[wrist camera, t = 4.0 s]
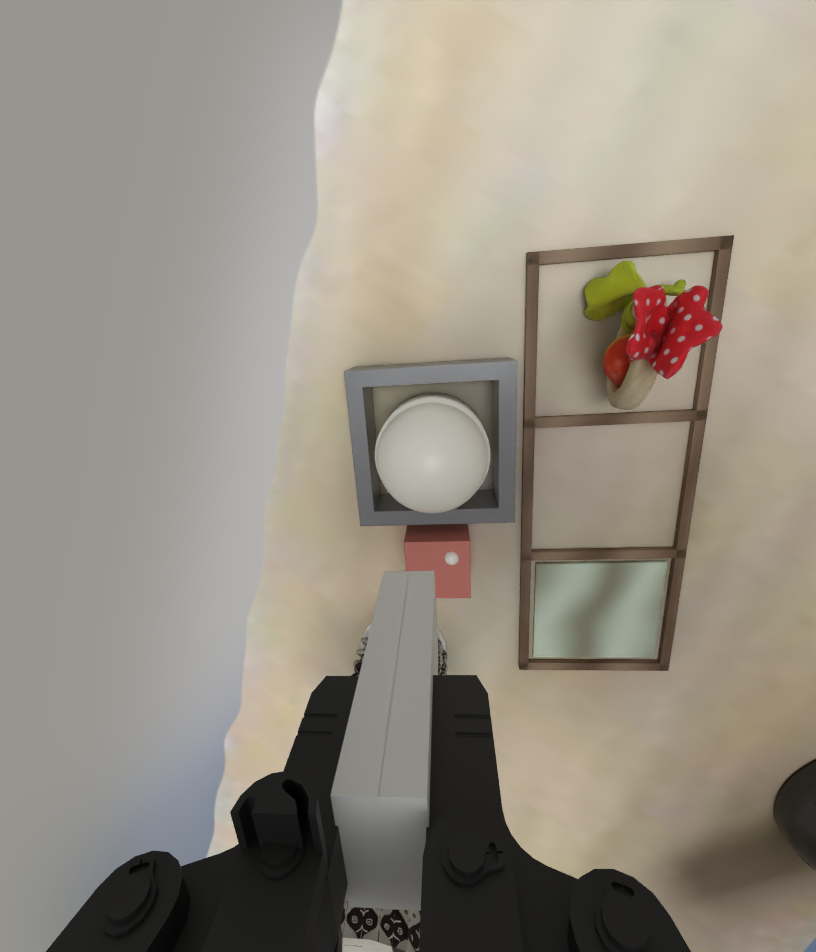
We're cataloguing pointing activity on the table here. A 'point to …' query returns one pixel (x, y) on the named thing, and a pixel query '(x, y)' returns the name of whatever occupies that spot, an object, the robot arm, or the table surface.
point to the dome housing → (446, 534)
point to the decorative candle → (372, 929)
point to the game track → (611, 582)
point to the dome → (432, 453)
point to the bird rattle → (647, 330)
